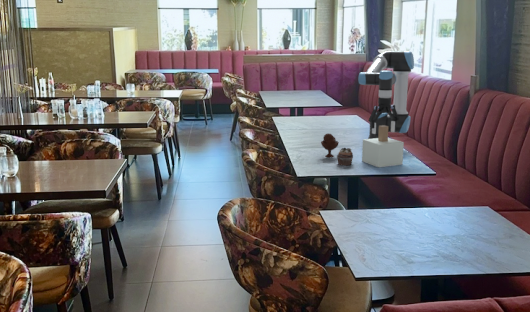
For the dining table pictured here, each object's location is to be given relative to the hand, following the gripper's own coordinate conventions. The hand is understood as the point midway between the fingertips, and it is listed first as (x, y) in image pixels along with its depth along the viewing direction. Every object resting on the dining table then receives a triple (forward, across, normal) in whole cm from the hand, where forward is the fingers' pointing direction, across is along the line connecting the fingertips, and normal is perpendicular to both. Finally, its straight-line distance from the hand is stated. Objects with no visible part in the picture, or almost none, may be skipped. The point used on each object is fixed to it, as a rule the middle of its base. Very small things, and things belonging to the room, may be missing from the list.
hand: (383, 132), depth 325 cm
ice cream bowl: (+19, +20, -28) cm, 39 cm away
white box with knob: (+18, 0, 0) cm, 18 cm away
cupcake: (+19, +22, -7) cm, 30 cm away
